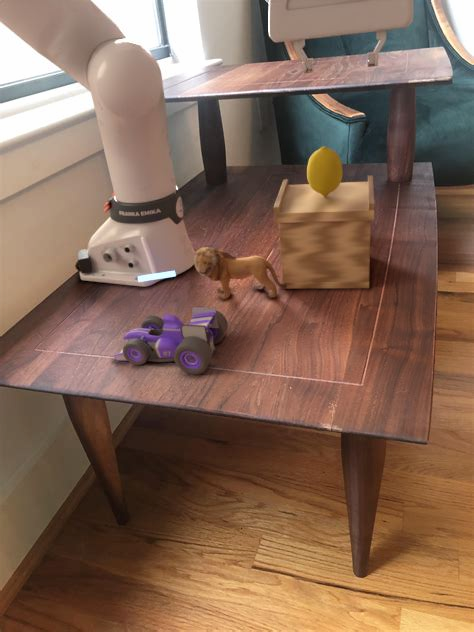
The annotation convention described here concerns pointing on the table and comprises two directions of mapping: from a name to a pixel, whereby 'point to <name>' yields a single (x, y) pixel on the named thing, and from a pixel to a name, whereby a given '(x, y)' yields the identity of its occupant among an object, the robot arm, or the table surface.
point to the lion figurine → (234, 269)
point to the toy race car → (176, 340)
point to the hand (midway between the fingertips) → (340, 69)
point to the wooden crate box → (325, 235)
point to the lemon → (324, 171)
